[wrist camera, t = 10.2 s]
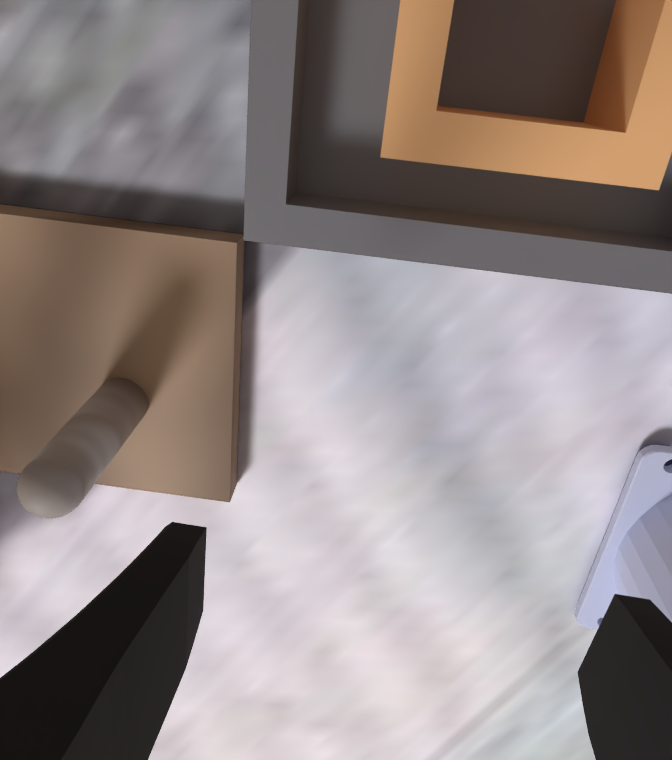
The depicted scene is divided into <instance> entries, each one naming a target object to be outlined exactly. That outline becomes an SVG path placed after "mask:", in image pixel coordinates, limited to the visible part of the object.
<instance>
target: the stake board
mask: <svg viewBox="0 0 672 760" xmlns="http://www.w3.org/2000/svg"><path fill="white" fill-rule="evenodd" d="M243 238H244V234H237V233H229V232H221V231H213V230H205V229H197V228H189V227H180V226H172V225H164V224H156V223H148V222H140V221H132V220H124V219H116V218H108V217H100V216H92V215H84V214H75V213H67V212H59V211H51V210H43V209H35V208H27V207H19V206H11V205H3V204H0V471H5V472H12V473H19V474H20V476H19V478H18V482H17V495H18V498H19V501H20V503H21V504H22V506H23V507H24V508H25V509H26V510H27V511H28V512H30V513H31V514H33V515H35V516H38V517H41V518H58V517H61V516H64V515H66V514H68V513H70V512H71V511H73V510H74V509H75V508H76V507H77V506H78V505H79V504H80V503H81V502H82V500H83V499H84V497H85V496H86V495H87V493H88V492H89V491H90V489H91V488H92V486H93V485H94V484H100V485H107V486H115V487H122V488H129V489H137V490H144V491H151V492H158V493H166V494H173V495H180V496H188V497H195V498H202V499H210V500H217V501H224V502H230V500H231V498H232V495H233V492H234V490H235V487H236V484H237V454H238V424H239V394H240V364H241V334H242V304H243V274H244V244H245V241H244V240H243Z"/></svg>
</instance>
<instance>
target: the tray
mask: <svg viewBox="0 0 672 760" xmlns="http://www.w3.org/2000/svg"><path fill="white" fill-rule="evenodd" d="M615 3H616V0H454V5H453V11H452V17H451V23H450V29H449V36H448V42H447V48H446V54H445V60H444V66H443V73H442V79H441V85H440V91H439V97H438V103H437V106H444V107H453V108H462V109H470V110H479V111H488V112H496V113H505V114H514V115H522V116H531V117H540V118H548V119H557V120H566V121H574V122H583V123H584V119H585V115H586V111H587V108H588V104H589V100H590V96H591V93H592V89H593V85H594V81H595V78H596V74H597V70H598V66H599V63H600V59H601V55H602V51H603V48H604V44H605V40H606V36H607V33H608V29H609V25H610V21H611V18H612V14H613V10H614V6H615ZM399 7H400V0H251V22H250V53H249V84H248V114H247V145H246V176H245V207H244V238H243V240H244V241H252V242H260V243H268V244H276V245H284V246H292V247H300V248H308V249H317V250H325V251H333V252H341V253H349V254H357V255H365V256H373V257H381V258H389V259H397V260H405V261H413V262H421V263H429V264H437V265H446V266H454V267H462V268H470V269H478V270H486V271H494V272H502V273H510V274H518V275H526V276H534V277H542V278H550V279H558V280H566V281H574V282H583V283H591V284H599V285H607V286H615V287H623V288H631V289H639V290H647V291H655V292H663V293H671V294H672V153H671V156H670V159H669V162H668V165H667V168H666V171H665V174H664V177H663V180H662V183H661V186H660V189H659V190H652V189H644V188H635V187H627V186H618V185H610V184H601V183H593V182H584V181H576V180H568V179H559V178H551V177H542V176H534V175H525V174H517V173H508V172H500V171H491V170H483V169H474V168H466V167H457V166H449V165H441V164H432V163H424V162H415V161H407V160H398V159H390V158H381V157H380V156H381V148H382V140H383V132H384V124H385V116H386V109H387V101H388V93H389V85H390V77H391V70H392V62H393V54H394V46H395V38H396V30H397V23H398V15H399Z"/></svg>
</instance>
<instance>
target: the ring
mask: <svg viewBox="0 0 672 760" xmlns="http://www.w3.org/2000/svg"><path fill="white" fill-rule="evenodd" d="M453 5H454V0H400V7H399V15H398V23H397V30H396V38H395V46H394V54H393V62H392V70H391V77H390V85H389V93H388V101H387V109H386V116H385V124H384V132H383V140H382V148H381V156H380V157H381V158H390V159H398V160H407V161H415V162H424V163H432V164H441V165H449V166H457V167H466V168H474V169H483V170H491V171H500V172H508V173H517V174H525V175H534V176H542V177H551V178H559V179H568V180H576V181H584V182H593V183H601V184H610V185H618V186H627V187H635V188H644V189H652V190H659V189H660V186H661V183H662V180H663V177H664V174H665V171H666V168H667V165H668V162H669V159H670V156H671V153H672V0H616V3H615V6H614V10H613V14H612V18H611V21H610V25H609V29H608V33H607V36H606V40H605V44H604V48H603V51H602V55H601V59H600V63H599V66H598V70H597V74H596V78H595V81H594V85H593V89H592V93H591V96H590V100H589V104H588V108H587V111H586V115H585V119H584V123H583V122H574V121H566V120H557V119H548V118H540V117H531V116H522V115H514V114H505V113H496V112H488V111H479V110H470V109H462V108H453V107H444V106H437V103H438V97H439V91H440V85H441V79H442V73H443V66H444V60H445V54H446V48H447V42H448V36H449V29H450V23H451V17H452V11H453Z"/></svg>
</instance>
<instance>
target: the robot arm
mask: <svg viewBox="0 0 672 760" xmlns="http://www.w3.org/2000/svg"><path fill="white" fill-rule="evenodd" d="M671 459H672V447H670V446H663V445H650V446H647V447H644V448H643V449H642V450H640V451H639V453H638V454H637V456H636V458H635V461H634V463H633V466H632V468H631V471H630V473H629V476H628V479H627V481H626V484H625V486H624V489H623V491H622V494H621V496H620V499H619V501H618V504H617V506H616V509H615V511H614V514H613V516H612V519H611V521H610V524H609V526H608V529H607V531H606V534H605V536H604V539H603V541H602V544H601V546H600V549H599V551H598V554H597V556H596V559H595V561H594V564H593V566H592V569H591V571H590V574H589V576H588V579H587V581H586V584H585V587H584V589H583V592H582V594H581V597H580V599H579V602H578V604H577V607H576V609H575V617H576V620H577V622H578V624H579V625H580V626H582V627H585V628H589V629H596V630H597V632H596V635H595V637H594V639H593V641H592V643H591V645H590V647H589V649H588V651H587V654H586V656H585V658H584V660H583V662H582V664H581V666H580V668H579V671H578V677H579V683H580V689H581V695H582V702H583V707H584V713H585V718H586V723H587V728H588V733H589V737H590V741H591V744H592V748H593V751H594V755H595V758H596V760H672V464H671V465H669V466H664V464H665V463H666V462H667V461H669V460H671ZM205 550H206V527H200V526H194V525H187V524H181V523H175V522H172V523H170V524H169V525H167V526H166V527H165V528H164V529H163V530H162V531H161V532H160V533H159V534H158V536H157V537H156V538H155V539H154V540H153V541H152V542H151V543H150V544H149V545H148V546H147V547H146V548H145V549H144V550H143V551H142V552H141V553H140V554H139V556H138V557H137V558H136V559H135V560H134V561H133V562H132V563H131V564H130V565H129V566H128V567H127V568H126V569H125V570H124V571H123V572H122V573H121V574H120V575H119V576H118V577H117V578H116V579H114V580H113V581H112V582H111V583H110V584H109V585H108V586H107V587H106V588H105V589H104V590H103V591H102V592H101V593H100V594H99V595H97V596H96V597H95V598H94V599H93V600H92V601H91V602H90V603H89V604H88V605H87V606H86V607H85V608H84V609H82V610H81V611H80V612H79V613H78V614H77V615H76V616H75V617H74V618H72V619H71V620H70V621H69V622H68V623H67V624H65V625H64V626H63V627H62V628H61V629H60V630H58V631H57V632H56V633H55V634H54V635H53V636H51V637H50V638H49V639H48V640H47V641H45V642H44V643H43V644H42V645H41V646H40V647H38V648H37V649H36V650H35V651H34V652H33V653H31V654H30V655H29V656H28V657H26V658H25V659H24V660H23V661H21V662H20V663H19V664H18V665H16V666H15V667H14V668H13V669H11V670H10V671H9V672H7V673H6V674H5V675H4V676H2V677H1V678H0V760H148V758H149V755H150V753H151V751H152V748H153V746H154V743H155V741H156V739H157V736H158V734H159V732H160V729H161V727H162V724H163V722H164V720H165V717H166V715H167V712H168V710H169V708H170V705H171V703H172V700H173V698H174V695H175V693H176V691H177V688H178V686H179V683H180V681H181V678H182V676H183V674H184V671H185V669H186V666H187V663H188V659H189V656H190V653H191V650H192V646H193V643H194V640H195V636H196V633H197V629H198V626H199V622H200V619H201V616H202V612H203V599H204V575H205ZM601 617H604V618H601Z"/></svg>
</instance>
